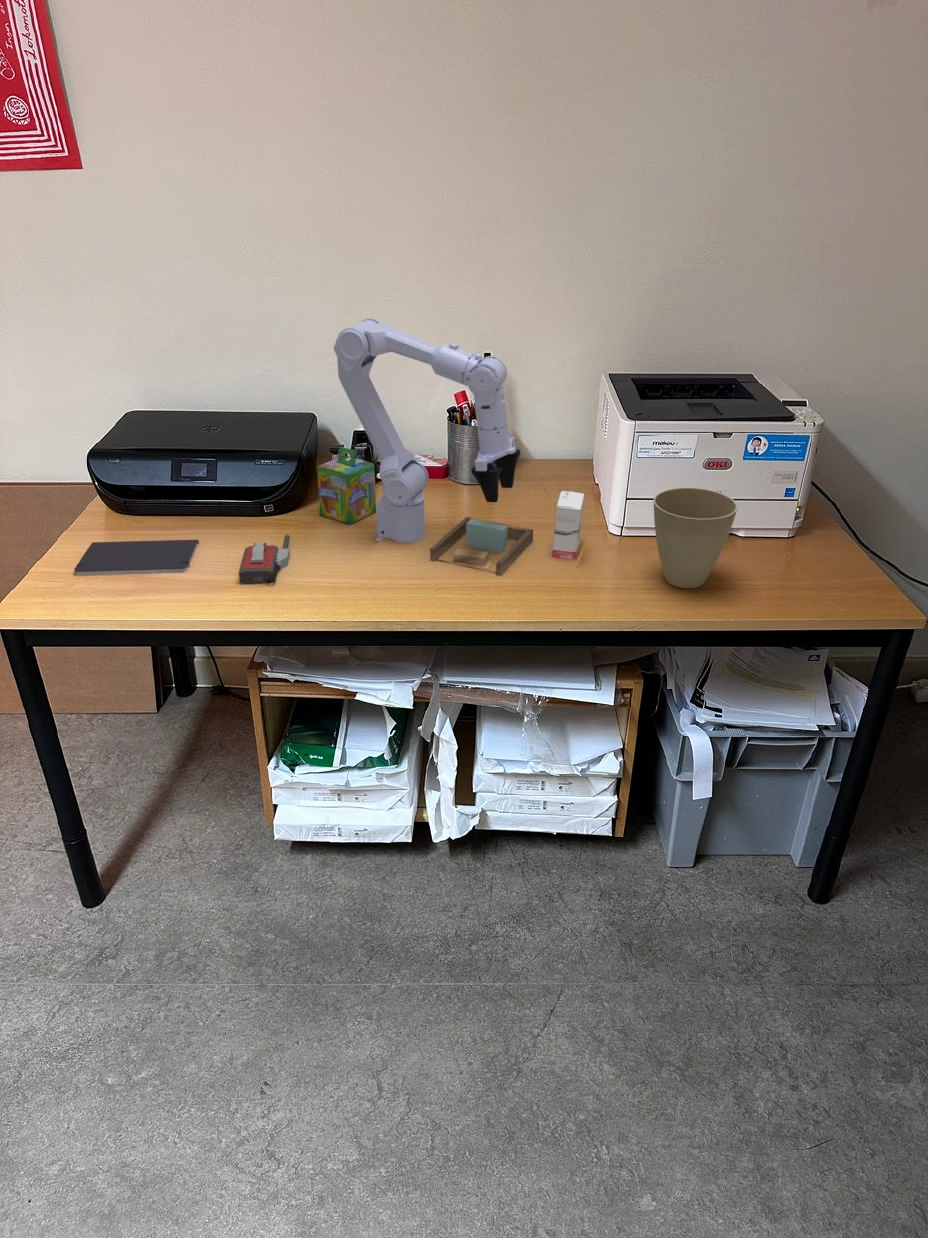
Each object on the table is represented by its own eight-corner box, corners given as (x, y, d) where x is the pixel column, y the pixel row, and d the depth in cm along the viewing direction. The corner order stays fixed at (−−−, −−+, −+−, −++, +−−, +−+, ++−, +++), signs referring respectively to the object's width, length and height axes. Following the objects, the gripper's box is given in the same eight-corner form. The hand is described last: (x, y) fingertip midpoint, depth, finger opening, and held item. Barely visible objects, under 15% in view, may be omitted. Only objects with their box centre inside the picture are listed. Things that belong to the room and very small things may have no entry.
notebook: (199, 546, 177) (93, 549, 176) (198, 539, 176) (91, 542, 175) (187, 574, 166) (74, 578, 165) (186, 567, 165) (72, 571, 164)
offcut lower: (449, 567, 169) (449, 560, 168) (456, 561, 172) (456, 554, 171) (487, 575, 166) (487, 568, 166) (493, 569, 169) (493, 562, 168)
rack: (430, 564, 169) (430, 548, 167) (466, 532, 182) (466, 516, 181) (500, 580, 164) (501, 563, 162) (532, 545, 177) (533, 529, 175)
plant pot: (702, 558, 172) (714, 483, 164) (737, 594, 160) (753, 515, 151) (632, 565, 169) (641, 490, 161) (662, 602, 157) (674, 522, 149)
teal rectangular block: (466, 550, 175) (466, 523, 172) (470, 545, 177) (471, 518, 174) (502, 557, 172) (503, 530, 169) (506, 552, 174) (507, 525, 171)
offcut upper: (452, 561, 168) (452, 554, 167) (457, 555, 170) (457, 548, 170) (484, 565, 167) (484, 558, 166) (488, 559, 169) (488, 552, 168)
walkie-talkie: (285, 587, 162) (293, 541, 179) (283, 566, 160) (291, 522, 177) (238, 589, 161) (250, 543, 178) (235, 568, 159) (247, 523, 176)
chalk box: (319, 515, 189) (313, 451, 182) (346, 502, 196) (342, 439, 188) (350, 526, 185) (346, 460, 177) (378, 512, 191) (374, 448, 184)
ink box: (576, 564, 170) (581, 508, 164) (551, 561, 171) (554, 506, 165) (580, 545, 177) (584, 491, 171) (556, 543, 178) (559, 489, 172)
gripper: (496, 438, 153) (504, 509, 160) (526, 414, 165) (532, 481, 171) (461, 437, 156) (470, 507, 163) (492, 414, 168) (499, 480, 174)
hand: (499, 494), depth 167 cm, fingers open, 7 cm apart
